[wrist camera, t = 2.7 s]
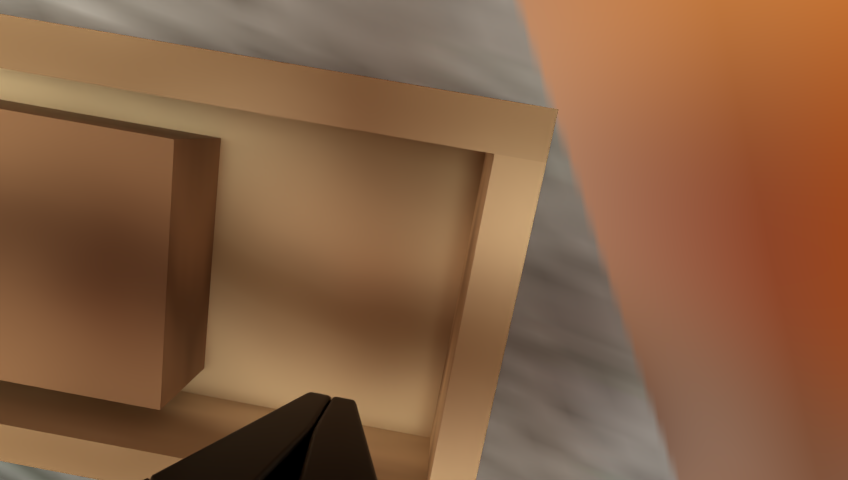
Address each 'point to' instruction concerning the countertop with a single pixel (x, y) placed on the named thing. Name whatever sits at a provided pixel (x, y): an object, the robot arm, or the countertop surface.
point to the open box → (306, 251)
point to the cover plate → (104, 254)
